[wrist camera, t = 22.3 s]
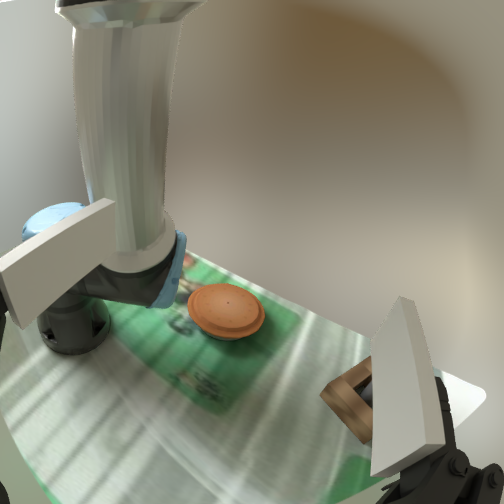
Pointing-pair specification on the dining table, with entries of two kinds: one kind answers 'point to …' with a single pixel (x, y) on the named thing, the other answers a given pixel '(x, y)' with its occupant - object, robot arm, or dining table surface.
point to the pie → (226, 311)
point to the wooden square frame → (352, 400)
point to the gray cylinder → (368, 394)
